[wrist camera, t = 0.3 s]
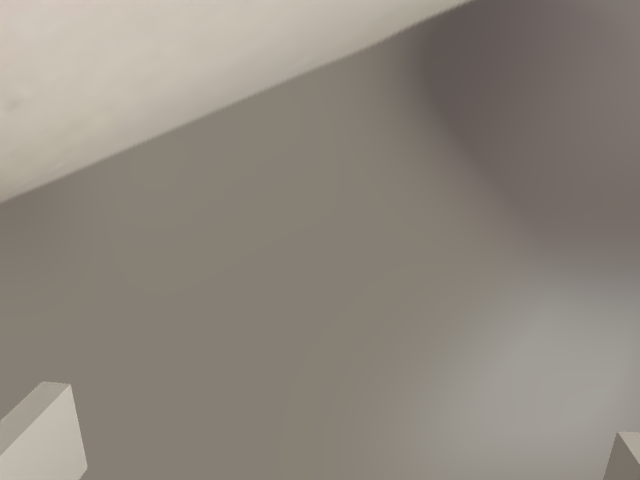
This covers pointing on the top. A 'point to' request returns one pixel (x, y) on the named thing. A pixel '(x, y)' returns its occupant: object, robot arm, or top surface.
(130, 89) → the top surface
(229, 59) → the top surface
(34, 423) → the robot arm
